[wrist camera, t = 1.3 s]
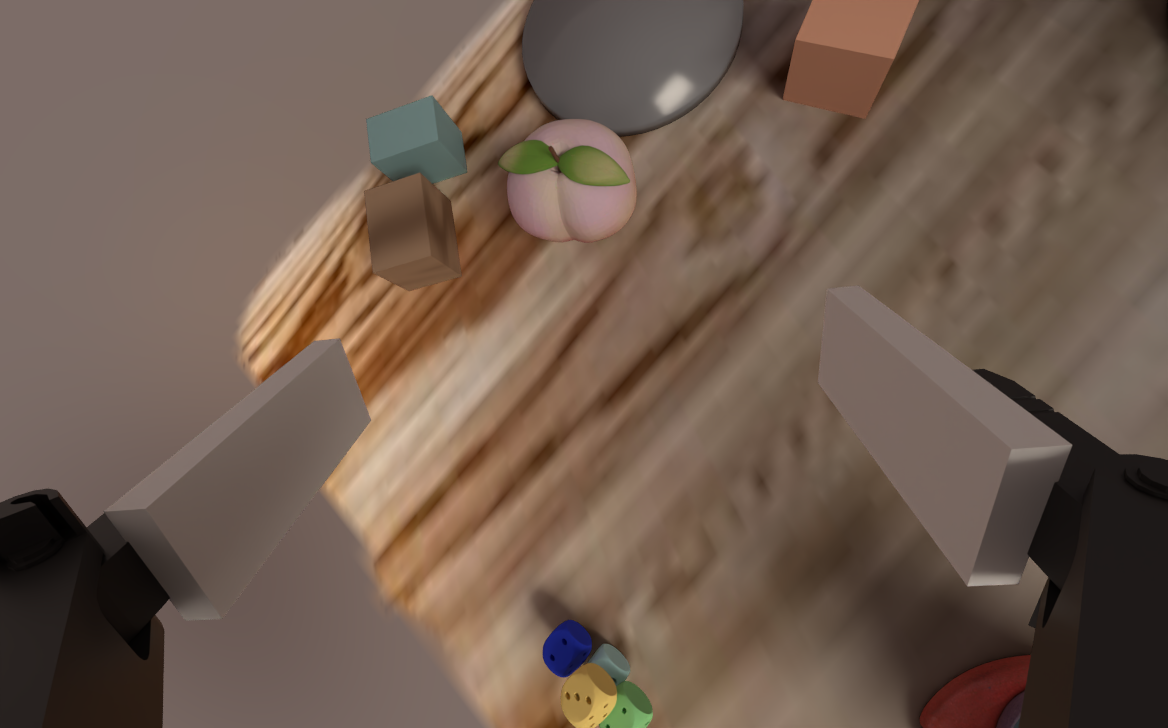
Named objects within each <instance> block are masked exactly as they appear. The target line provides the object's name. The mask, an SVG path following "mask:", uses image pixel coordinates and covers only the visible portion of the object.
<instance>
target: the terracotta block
mask: <svg viewBox="0 0 1168 728" xmlns="http://www.w3.org/2000/svg"><path fill="white" fill-rule="evenodd" d="M918 2H919V0H812V3H811V5H810V7H809V10H808V12H807V14H806V17H805V19H804V21H803V24H802V26H801V28H800V30H799V33H798V35H797V37H796V40H795V44H794V49H793V54H792V58H791V63H790V68H789V72H788V77H787V81H786V86H785V91H784V95H783V100H787V101H791V102H795V103H799V104H804V105H808V106H812V107H817V108H821V109H825V110H829V111H834V112H838V113H842V114H846V115H851V116H855V117H859V118H864V119H865V118H866V116H867V114H868V112H869V110H870V108H871V106H872V104H873V102H874V100H875V97H876V95H877V93H878V91H879V89H880V87H881V85H882V83H883V81H884V79H885V77H886V75H887V73H888V71H889V69H890V66H891V64H892V62H893V60H894V58H895V56H896V53H897V51H898V49H899V46H900V44H901V42H902V39H903V37H904V35H905V32H906V30H907V27H908V25H909V23H910V20H911V18H912V16H913V13H914V11H915V9H916V6H917V4H918Z"/></svg>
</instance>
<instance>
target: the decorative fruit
mask: <svg viewBox="0 0 1168 728" xmlns="http://www.w3.org/2000/svg"><path fill="white" fill-rule="evenodd" d="M498 165H499V166H500V167H501V168H502V169H504V170H506V171H508V172H509V174H508V180H507V196H508V202H509V207H510V210H511V213H512V215H513V217H514V219H515V221H516V222H517V223H518V225H519V226H520V227H521V228H522V229H524V230H525V231H526V232H528V233H529V234H531V235H533V236H535V237H538V238H541V239H545V240H549V241H554V242H566V241H570V240H577V241H581V242H584V243H589V242H595V241H598V240H602V239H605V238H607V237H609V236H611V235H613V234H615V233H616V232H617V231H619V230H620V229H621V228H622V227H623V226H624V225H625V224H626V223H627V222H628V220H629V219H630V217H631V215H632V214H633V211H634V208H635V204H636V199H637V190H636V181H635V174H634V169H633V164H632V160H631V157H630V154H629V152H628V150H627V148H626V146H625V144H624V143H623V141H622V140H621V139H620V138H619V136H618V135H617V134H616V133H614V132H613V131H612V130H610V129H609V128H607V127H606V126H604V125H602V124H600V123H597V122H594V121H591V120H586V119H564V120H557V121H553V122H550V123H547V124H545V125H543V126H541V127H539V128H538V129H536V130H535V131H534V132H532V133H531V134H530V135H529V136H528V137H527V138H526V139H525V141H523V142H521V143H518V144H516V145H515V146H513V147H511V148H510V149H509V150H508V151H506V152H505V153H504V154H503V156H502V157H501V158H500V160H499V162H498Z"/></svg>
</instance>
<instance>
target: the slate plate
mask: <svg viewBox="0 0 1168 728" xmlns="http://www.w3.org/2000/svg"><path fill="white" fill-rule="evenodd" d="M742 21H743V0H534V1H533V3H532V5H531V8H530V10H529V13H528V15H527V19H526V23H525V26H524V31H523V39H522V55H523V62H524V67H525V70H526V73H527V77H528V79H529V81H530V83H531V85H532V87H533V89H534V91H535V93H536V95H537V97H538V99H539V100H540V101H541V103H542V104H543V106H544V107H545V108H546V109H547V110H548V111H549V112H550V113H551V114H552V115H553V116H554V117H555V118H557V119H558V120H564V119H586V120H591V121H594V122H597V123H600V124H602V125H604V126H606V127H607V128H609V129H610V130H612V131H613V132H614V133H616V134H617V135H618V136H619V137H620V136H631V135H636V134H642V133H645V132H649V131H652V130H655V129H658V128H660V127H663V126H665V125H667V124H670V123H672V122H673V121H675V120H677V119H679V118H681V117H682V116H684V115H685V114H687V113H688V112H690V111H691V110H692V109H694V108H695V107H697V106H698V105H699V104H700V103H701V102H702V101H703V100H704V99H705V98H707V97H708V96H709V95H710V93H711V92H712V91H713V90H714V89H715V88H716V87H717V85H718V84H719V83H720V81H721V80H722V78H723V77H724V76H725V74H726V73H727V71H728V69H729V67H730V65H731V63H732V61H733V59H734V57H735V54H736V51H737V49H738V46H739V42H740V37H741V32H742Z"/></svg>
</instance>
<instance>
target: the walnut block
mask: <svg viewBox="0 0 1168 728" xmlns="http://www.w3.org/2000/svg"><path fill="white" fill-rule="evenodd" d="M364 195H365V204H366V214H367V223H368V232H369V241H370V251H371V260H372V269H373V273H374V274H376V275H378V276H380V277H382V278H384V279H386V280H388V281H390V282H392V283H394V284H396V285H398V286H400V287H402V288H404V289H406V290H408V291H412V290H415V289H419V288H422V287H426V286H429V285H433V284H436V283H440V282H444V281H447V280H451V279H454V278H458V277H461V276H462V274H461V268H460V261H459V254H458V247H457V240H456V233H455V226H454V219H453V213H452V206H451V201H450V200H449V199H448V198H447V197H446V196H445V195H444V194H443V193H441V192H440V191H439V190H438V189H437V188H436V187H435V186H434V185H433V184H432V183H431V182H430V181H429V180H428V179H426V178H425V177H424V176H423V175H422V174H421V173H417V174H414V175H411V176H408V177H405V178H402V179H399V180H396V181H393V182H390V183H387V184H384V185H381V186H378V187H375V188H372V189H369V190H366V191H364Z"/></svg>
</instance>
